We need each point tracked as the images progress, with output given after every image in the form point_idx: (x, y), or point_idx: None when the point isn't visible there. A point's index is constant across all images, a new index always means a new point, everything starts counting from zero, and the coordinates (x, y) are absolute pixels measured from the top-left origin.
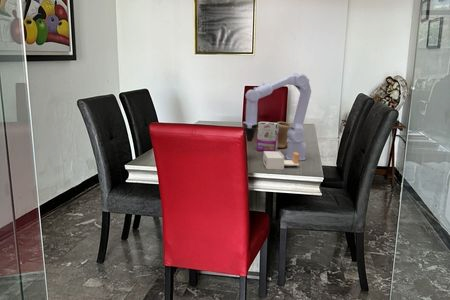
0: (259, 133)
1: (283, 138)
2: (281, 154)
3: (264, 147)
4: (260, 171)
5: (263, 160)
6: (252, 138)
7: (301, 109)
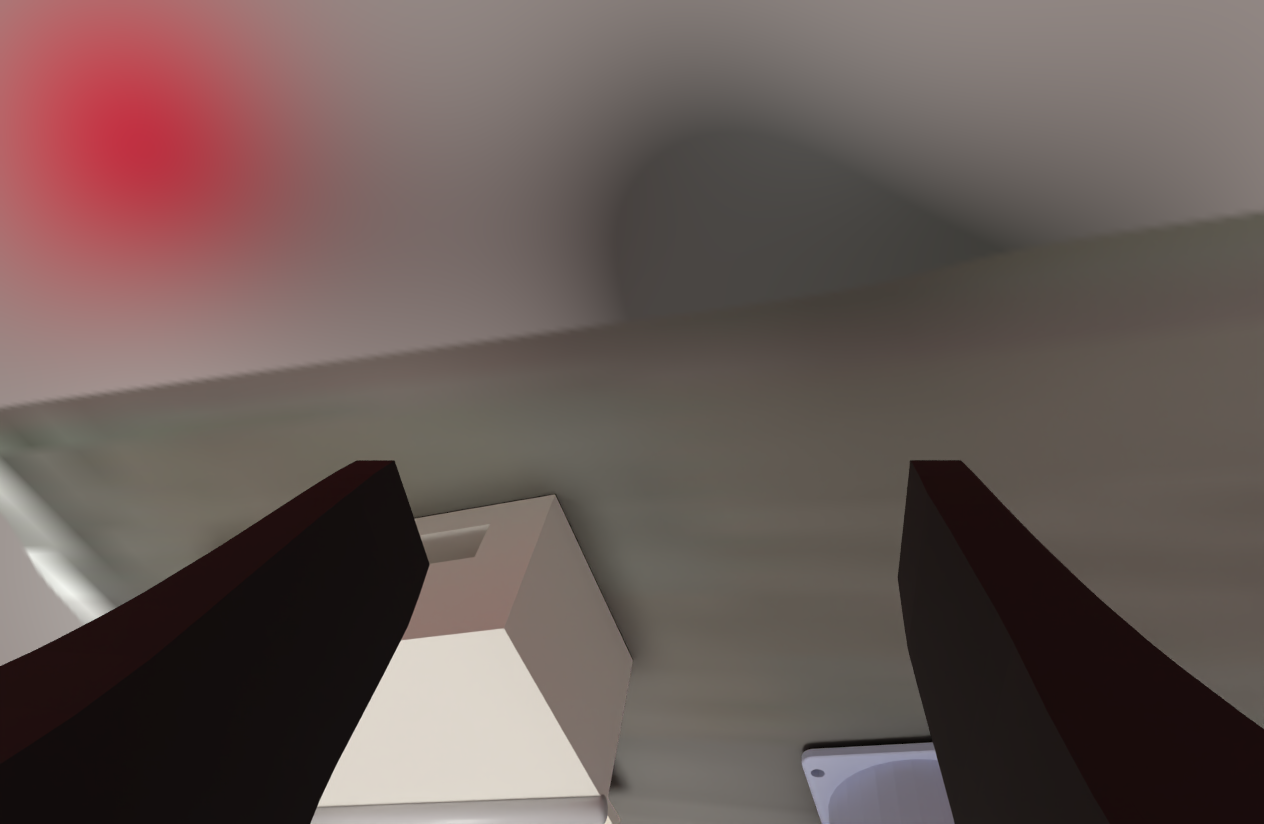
0: None
1: None
2: (365, 822)
3: None
4: (77, 496)
5: (498, 524)
6: (899, 569)
7: None
